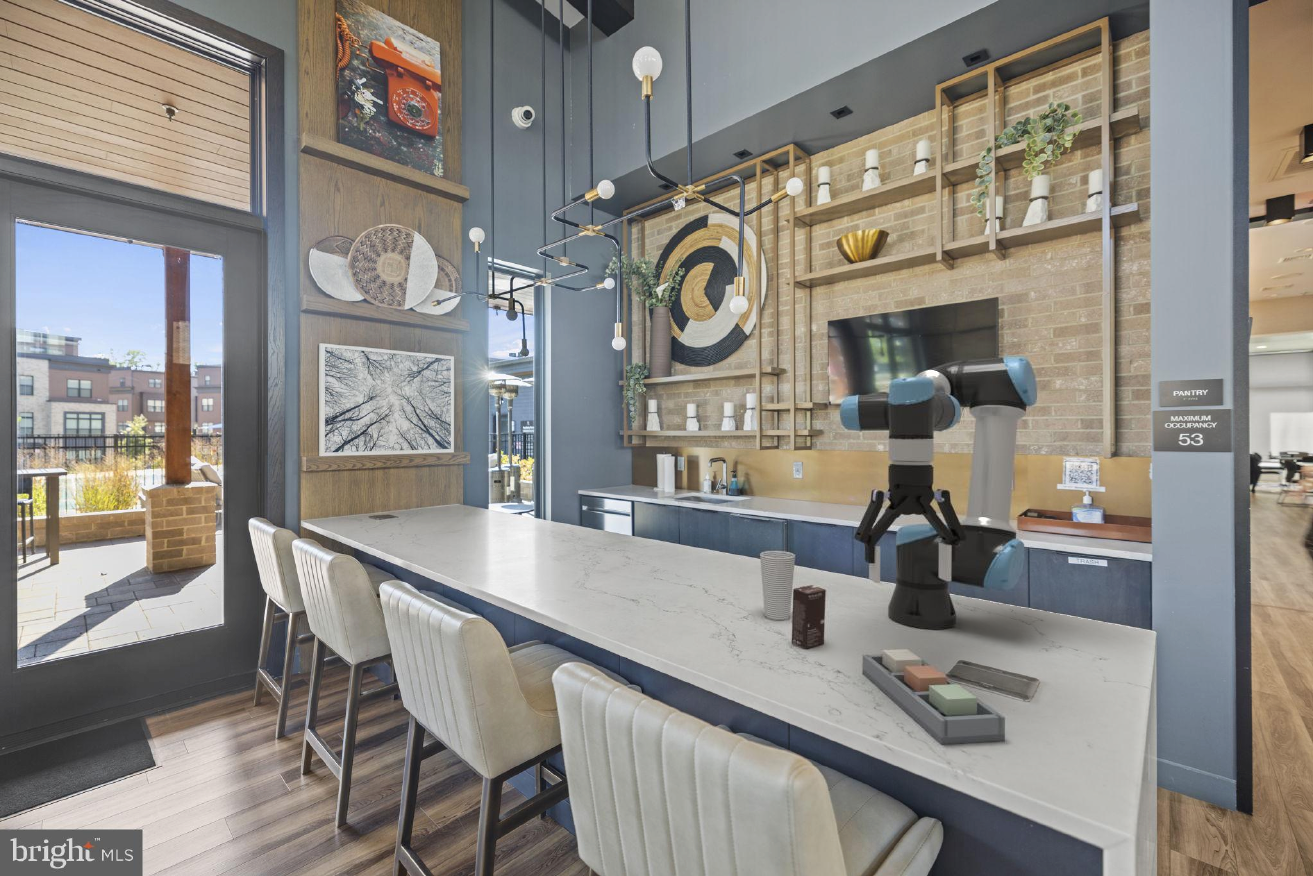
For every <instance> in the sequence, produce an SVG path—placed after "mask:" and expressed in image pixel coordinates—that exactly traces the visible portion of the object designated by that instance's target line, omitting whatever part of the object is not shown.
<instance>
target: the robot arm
mask: <svg viewBox="0 0 1313 876" xmlns="http://www.w3.org/2000/svg"><path fill="white" fill-rule="evenodd" d="M1037 399H1038V386H1037V379H1036V375H1035V372H1034V368H1033V367H1032V364H1031V362H1030V361H1029V360H1028V359H1027V358H1026V357H1023V356H1002V357H991V358H980V359H979V358H978V359H969V360H958V361H957V360H956V361H952V362H948V363H944V364H941V365H939V366H935V367H932V368H930V369H926V370H924V371H921V372H919V373H918V374H917V375H915V377H913V376H912V377H911V376H910V377H900V378H899V377H898V378H895V379H892V380H891V381H890V384H889V387H887V388H884V389H881V390H879V391H876V392H873V393H869V394H856V395H849V396H846V397H845V398H844V399H843V400H842V401H841V404H840V407H839V418H840V419H839V420H840V423H841V425H842V426H843V428H844V429H845V430H847V431H855V432H856V431H857V432H858V431H859V432H860V433H861V432H867V431H868V432H873V431H874V432H875V431H876V432H877V431H878V432H879V431H881V432H883V431H885V432H886V431H888V460H889V461H890V462H891V463H890V464H889V465H888V468H887V470H888V473H887V474H888V475H887V476H888V478H887V479H888V480H887V481H888V489H887V491H883V490H879V489H872V490H871V494H870V501H869V503H868V506H867V508H866V510H865V512H864V515H863V516H862V519H861V521H860V524H859V525H858V528H857V530H856V531H855V534H854V536H853V538H854V539H855V540H856V541H858V542H860V543H862V544H864V560H865V563H867V564H868V568H869V569H868V579H869V580H870V581H872V582H873V583H875V584H880V583H881V546H880V545H878V543H879V541H880V540H881V538H883V536H884V535H885V534H886V532H887V531H888V530H889V529H890V527H891V525H893V523H894V522H895V521H896V520H897V519H898V518H899V517H901V515H904V516H911V515H915V516H923V517H924V518H925V520H926V521H927V522H928V523H918V524H909V525H904V526H903V525H902V526H900V527H899V528H898V529H897V531H896V538H895V539H896V540H895V541H896V542H895V545H894V546H895V587H894V590H893V592H892V595H891V598H890V601H889V604H888V609H887V611H888V612H887V613H888V614H887V615H888V618H890V619H891V620H892V621H894V622H896V623H899V624H902V625H905V626H909V627H914V628H920V629H926V630H927V629H930V630H945V629H950V628H954V627H955V626H956V625H957V613H956V610H955V609H956V608H955V606H954V603H953V600H952V598H951V594H950V591H949V583H955V584H960V585H965V586H972V587H977V588H982V589H985V590H997V591H1002V592H1004V591H1009V590H1011V589H1012V588H1014V587H1015V586H1016V584H1017V583H1018V581H1019V579H1020V576H1021V574H1022V571H1023V569H1024V565H1025V564H1024V563H1025V555H1026V553H1025V551H1026V550H1025V549H1026V548H1025V543H1024V542H1023V541H1022V540H1020V539H1019V538H1017V530H1016V529H1015V528H1014V527H1013V526H1012V525H1011V522H1010V517H1011V507H1012V505H1011V504H1012V493H1013V483H1014V482H1013V481H1014V472H1015V471H1014V469H1015V459H1016V458H1015V456H1016V447H1017V434H1018V433H1017V432H1018V422H1019V421H1020V420H1021V419H1022V418H1024V417H1026V415H1027V407H1032V406H1035V404H1036V403H1037ZM962 408H968V409H969V410H968V411H969V414H970V415H971V416H972V417H973V418H974V419H975V420H974V421H975V422H974V423H975V424H974V431H973V433H974V434H973V443H972V444H973V446H972V455H971V464H970V465H971V467H970V476H969V486H968V487H969V488H968V496H967V499H968V500H967V507H966V509H967V510H966V517H965V519H964V520H962V521H961V522H960V520H959V518H958V515H957V513H956V511H955V510H954V507H953V504H952V502H951V493H950V491H949V490H947V489H942V488H941V489H940V488H938V489H936V490H933V484H934V467H935V466H933V465H932V464H931V463H933V462H934V461H935V459H934V458H935V452H934V451H935V449H934V448H935V447H934V445H935V444H934V439H935V437H934V432H944V431H948V430H950V429H951V428H953V427H954V426H956V424H957V423H958V422H959V420H960V418H961V416H962V415H961V414H962V410H961V409H962ZM887 500H888V501H889V505H888V506H887V507H886V508H885V510H884V512H883V514H882V515H881V517H880V518H878V516H879V514H880V512H881V510H882V508H883V505H884V503H885V502H886V501H887ZM933 500H934V501H935V502H936V503H937V506H938V509H939V510H940V513H941V514H942V517H943V519H944V521H945V522H944V521H943V520H942V519H941V518H940V516H939V515H938V514H937V510H935V509H934V507H933V506H932V503H933ZM877 519H878V520H877ZM876 520H877V521H876ZM875 522H876V523H875Z"/></svg>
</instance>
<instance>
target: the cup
mask: <svg viewBox="0 0 1313 876" xmlns="http://www.w3.org/2000/svg"><path fill="white" fill-rule="evenodd" d="M759 556H760V560H759V561H760V570H761V571H760V572H761V584H762V595H763V597H762V598H763V607H764V616H765V617H766V619H769V620H773V621H786V620H788V619H789V618H790V617H791V606H792V598H793V583H794V572H795V560H796V554H795V553H793V552H789V551H784V550H766V551H765V550H764V551H762V552H760V554H759Z"/></svg>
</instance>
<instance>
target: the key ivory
mask: <svg viewBox="0 0 1313 876" xmlns="http://www.w3.org/2000/svg"><path fill="white" fill-rule="evenodd" d="M882 654H883V663H882V664H884V665H885V666H886V667H887V668H889V669H890V670H891V671H892V672H893V673H898V672H904V666H922V660H923V659H922V658H920V657H919V656H918V655H916V654H915V653H914V652H912V651H910V650H909V649H907V648H905V649H902V648H901V649H882Z"/></svg>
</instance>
